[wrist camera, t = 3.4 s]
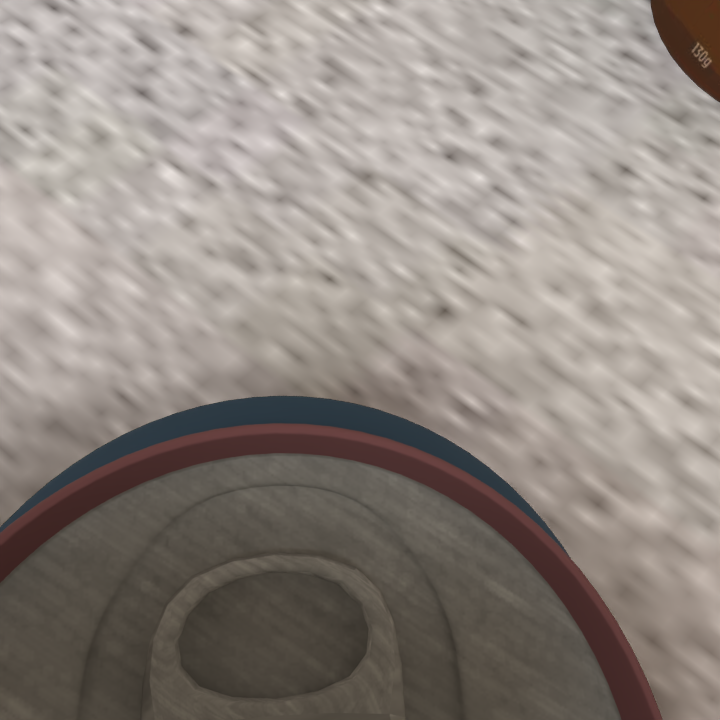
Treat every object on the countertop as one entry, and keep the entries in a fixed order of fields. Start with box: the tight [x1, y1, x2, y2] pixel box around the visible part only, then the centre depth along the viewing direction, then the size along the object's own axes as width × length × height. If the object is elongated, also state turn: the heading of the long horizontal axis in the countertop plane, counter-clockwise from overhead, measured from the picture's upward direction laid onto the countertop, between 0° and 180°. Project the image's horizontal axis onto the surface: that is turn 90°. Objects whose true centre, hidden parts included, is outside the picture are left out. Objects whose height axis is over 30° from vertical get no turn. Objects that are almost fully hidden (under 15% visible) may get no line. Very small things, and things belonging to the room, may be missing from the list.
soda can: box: [0, 396, 662, 720], centre depth 10 cm, size 7×7×12 cm
